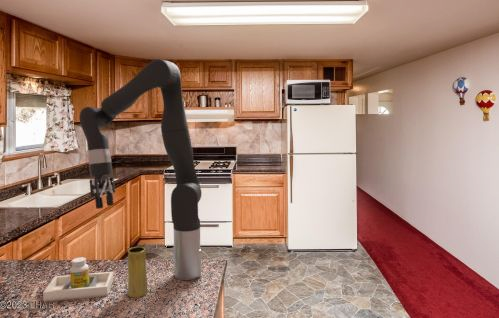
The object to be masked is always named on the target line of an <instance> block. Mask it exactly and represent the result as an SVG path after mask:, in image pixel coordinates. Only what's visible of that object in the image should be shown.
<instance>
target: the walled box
mask: <svg viewBox="0 0 499 318" xmlns="http://www.w3.org/2000/svg"><path fill="white" fill-rule="evenodd" d="M113 282H114V272H113V271H108V272H107V271H106V272H95V273H89V283H90V286H89V287H80V288H71V278H70V274H69V275H57V276H56V275H55V276H54V277H53V279H51V281H50V283H49V284H48V285H47V286H46V288H45V289H44V290H43V293H42V296H43V303H46V302H56V301H58V302H59V301H68V300H69V301H70V300H79V299H87V298H88V299H90V298H97V297H98V298H99V297H108V296H109V292H110V291H111V288H112V285H113Z"/></svg>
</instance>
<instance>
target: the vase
mask: <svg viewBox="0 0 499 318" xmlns="http://www.w3.org/2000/svg"><path fill="white" fill-rule="evenodd" d="M146 261H147V260H146V248H145V246H144V247H143V246H134V247H130V248H129V249H128V250H127V268H128V269H127V271H128V272H127V274H128V280H127V281H128V282H127V288H128V289H127V296H128V297H129V298H141V297H143V296H145V295H147V294H148V292H149V290H148V278H147V277H148V276H147V275H148V274H147V264H146V263H147V262H146Z"/></svg>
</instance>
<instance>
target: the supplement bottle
mask: <svg viewBox="0 0 499 318" xmlns="http://www.w3.org/2000/svg"><path fill="white" fill-rule="evenodd" d="M71 265H72V266H70V268H69V275H70V278H71V288H80V287H89V286H90V283H89V274H90V269H89V267H90V266H89V265H88V263H87V259H86V257H82V256H81V257H75V258H73V259H72V260H71Z"/></svg>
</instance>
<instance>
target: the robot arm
mask: <svg viewBox="0 0 499 318" xmlns="http://www.w3.org/2000/svg"><path fill="white" fill-rule="evenodd" d="M182 87H183V86H182V76H181V72H180V69H179V67H178V66H177V64H175V63H174V62H171V61H170V60H166V59H161V58H156V59H153V60H151V61H149V63H147V64H146V65H145V66H144V67H143V68H142V69H141V70H140V71H139V72H138V73H137V74H136V75H135V76H134V77H132V79H131V80H129V81H128V82H127V83H126V84H125V85H123V86H122V87H120V88H119V89H117V90H116V91H114V92H113V93H111V94H110V95H108V96H107V97H105V98H103V100H102V101H101V103H100V104H101V105H100V106H101V107H100V108H99V107H94V106H85V107H83V108H82V109H81V111H80V112H79V124H80V126H81V128H82V132H83V134H84V136H85V139H86V142H87V144H86V145H87V150H88V151H87V154H88V155H87V157H88V158H87V159H88V168H89V169H88V170H89V175H90V177H93V178H91V179H89V190H90V197H93V199H94V200H95V208H96V209H97V210H99V209H103V208H104V201H103V200H104V199H103V194H105V196H106V197H105V198H106V205H107V206H113V205H114V194H115V193H116V185H115V179H114V177H110V175H112V174H113V173H114V172H113V165H112V164H113V163H112V157H111V156H112V155H111V151H110V145H109V137H108V135H107V134H105V132H102V131H101V130H100V128H104V127H106V126H109V125H110V124H111V123H112V122H113V121H114V120H115V119H116V117H117V116H118V115H120V114H122V113H124V112H125V111H127V110H128V109H129V108H131V107H132V106H133V105H134V104H135V103H136V102H137V100H138V99H139V98H140V97H141V96H143V94H145V93H147V92H149V91H151V90H153V89H156V88H158V89H160V92H161V97H162V101H163V112H162V116H161V120H160V121H161V123H160V132H161V137H162V142H163V146H164V149H165V152H166V154H167V156H168V159H169V160H170V162H171V164H172V167H173V169H174V175H175V180H176V181H175V182H176V186H175V187H174V188H173V190H172V191H171V194H170V196H171V197H170V212H171V213H170V214H171V221H172V225H173V273H174V274H173V275H174V277H175V279H177V280H180V281H190V280H194V279H196V278H201V277H202V249H201V220H200V218H199V202H200V201H201V199H202V189H201V185H200V181H199V179H198V175H197V172H196V169H195V162H194V161H195V160H194V154H193V147H192V141H191V135H190V129H189V126H188V125H189V124H188V119H187V115H186V109H185V104H184V98H183V88H182Z"/></svg>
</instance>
